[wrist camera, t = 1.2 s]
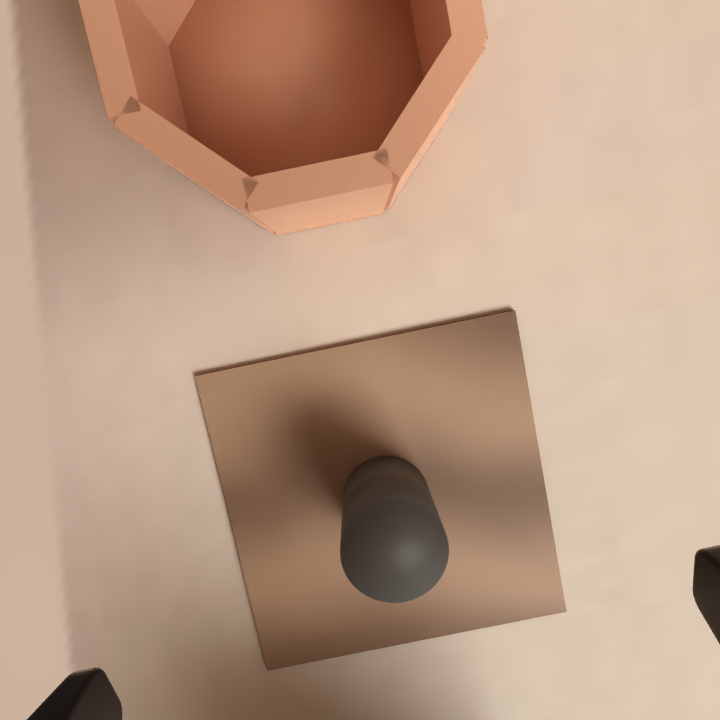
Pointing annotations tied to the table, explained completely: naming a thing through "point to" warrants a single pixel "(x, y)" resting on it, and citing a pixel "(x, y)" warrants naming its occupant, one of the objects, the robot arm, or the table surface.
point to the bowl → (286, 95)
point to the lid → (385, 490)
